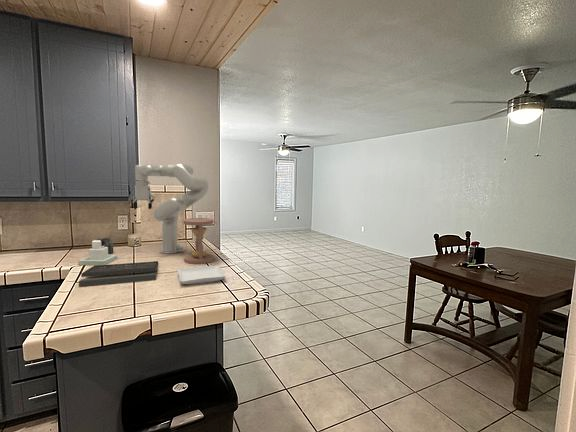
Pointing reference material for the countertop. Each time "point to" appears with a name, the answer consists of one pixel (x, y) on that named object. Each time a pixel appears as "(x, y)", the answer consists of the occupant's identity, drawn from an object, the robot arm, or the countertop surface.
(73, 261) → the countertop surface
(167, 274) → the countertop surface
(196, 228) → the hourglass
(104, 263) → the pale green square tray
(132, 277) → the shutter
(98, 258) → the medicine bottle
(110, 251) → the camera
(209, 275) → the grey flat square slab
